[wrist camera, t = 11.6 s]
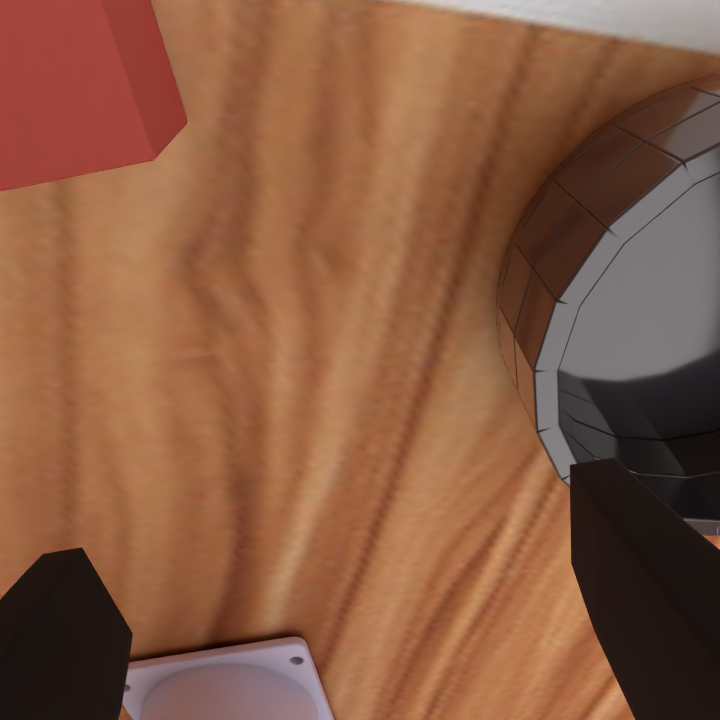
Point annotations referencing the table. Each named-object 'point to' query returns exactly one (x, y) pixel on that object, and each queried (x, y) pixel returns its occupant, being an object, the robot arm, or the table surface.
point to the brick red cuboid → (82, 89)
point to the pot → (626, 301)
